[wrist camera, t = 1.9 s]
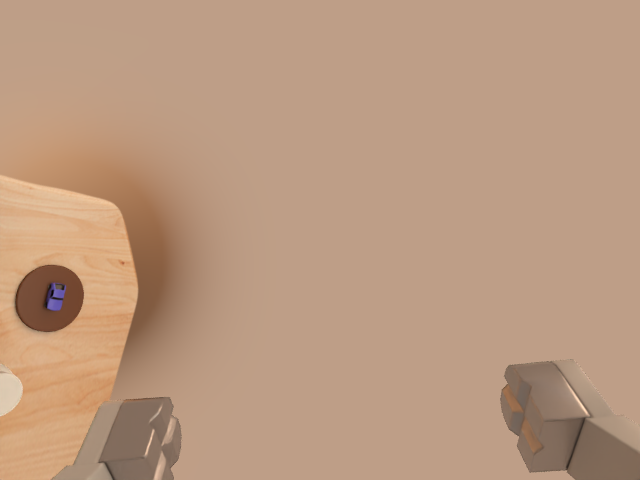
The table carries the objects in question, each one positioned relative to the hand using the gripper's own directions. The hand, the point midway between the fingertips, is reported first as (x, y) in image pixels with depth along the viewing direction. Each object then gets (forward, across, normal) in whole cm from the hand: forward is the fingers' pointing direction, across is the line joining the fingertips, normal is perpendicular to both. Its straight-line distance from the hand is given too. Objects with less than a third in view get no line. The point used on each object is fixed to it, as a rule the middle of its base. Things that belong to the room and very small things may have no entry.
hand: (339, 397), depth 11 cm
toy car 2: (+38, +33, +23) cm, 56 cm away
